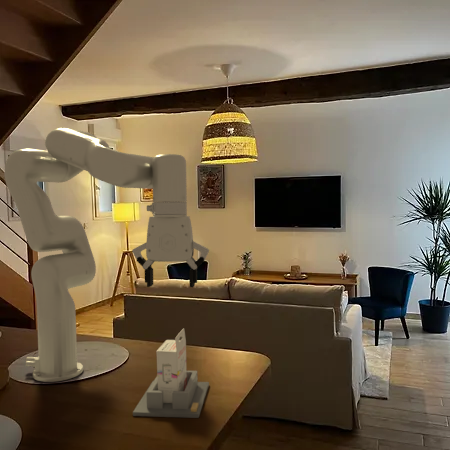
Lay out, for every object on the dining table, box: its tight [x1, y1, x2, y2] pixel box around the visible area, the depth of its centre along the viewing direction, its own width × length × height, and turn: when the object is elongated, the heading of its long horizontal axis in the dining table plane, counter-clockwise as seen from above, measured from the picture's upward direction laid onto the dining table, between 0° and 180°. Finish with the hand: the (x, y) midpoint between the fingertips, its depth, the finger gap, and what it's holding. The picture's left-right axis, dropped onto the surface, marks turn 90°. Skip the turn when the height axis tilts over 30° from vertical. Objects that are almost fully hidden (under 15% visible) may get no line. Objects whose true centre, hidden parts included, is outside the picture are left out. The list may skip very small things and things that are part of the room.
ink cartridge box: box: [155, 328, 187, 403], centre depth 103 cm, size 9×5×15 cm, turn 172°
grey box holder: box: [132, 370, 210, 419], centre depth 103 cm, size 14×17×4 cm
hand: (171, 286), depth 102 cm, fingers open, 9 cm apart
